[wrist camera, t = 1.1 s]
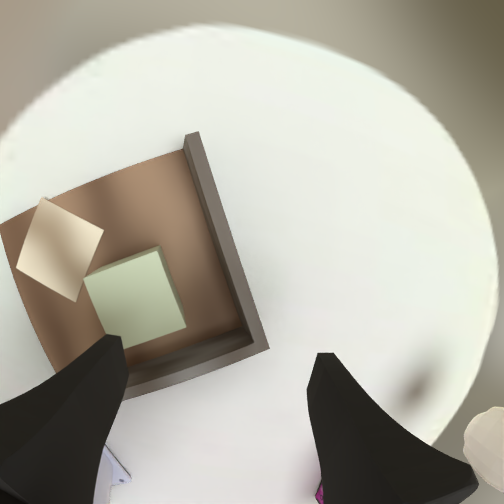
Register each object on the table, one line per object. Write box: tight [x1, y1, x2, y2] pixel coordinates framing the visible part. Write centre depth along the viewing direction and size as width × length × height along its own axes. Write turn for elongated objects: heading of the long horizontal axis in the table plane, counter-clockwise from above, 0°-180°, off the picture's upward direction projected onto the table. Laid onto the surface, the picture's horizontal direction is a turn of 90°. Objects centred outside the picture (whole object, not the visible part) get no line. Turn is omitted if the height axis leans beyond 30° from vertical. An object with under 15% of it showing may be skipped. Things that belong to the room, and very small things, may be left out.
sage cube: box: [83, 245, 186, 349], centre depth 18 cm, size 4×4×4 cm
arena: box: [0, 131, 270, 401], centre depth 18 cm, size 16×14×4 cm
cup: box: [463, 407, 504, 493], centre depth 19 cm, size 7×7×21 cm
